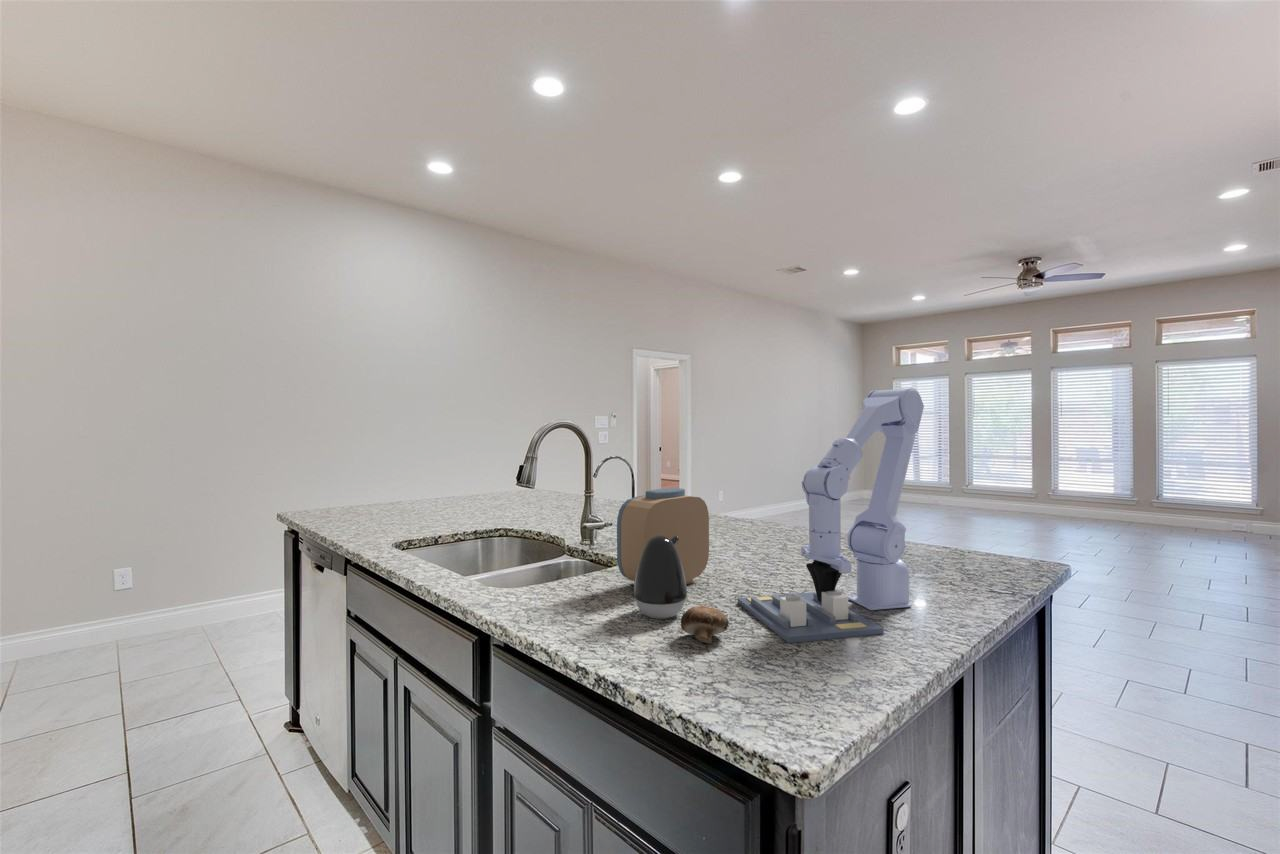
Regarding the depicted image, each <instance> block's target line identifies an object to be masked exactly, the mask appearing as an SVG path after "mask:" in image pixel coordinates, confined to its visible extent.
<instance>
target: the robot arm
mask: <svg viewBox="0 0 1280 854" xmlns="http://www.w3.org/2000/svg"><path fill="white" fill-rule="evenodd" d="M924 408H925V405H924V403H923V400H922V396H921V394H920V393H919V391H918V390H917V389H916V388H914V387H907V388H900V389H899V388H897V389H883V390H879V389H873V390H871V391H869V392H868V394H866V396H865V398H864V399H863V400H862V412H861V413H860V414H859V416H858V418H857V420H855V422H854V424H853V426H852V427H851V429H850V431H849V433H848V434H847V436H846V437H841V438H838V439H835V440H834V441H833V443H832V446H831V447H830V449H829V450H828V452H826V454H825V455H824V457H823V458H822V459H821V460H820V461H819V463H818V464H817V466H814V467H811V468H809V470H807V471H806V473H805V474H804V476H803V480H802V481H801V486H802V491H803V492H804V494H805V496H806V497H805V498H806V501H805V502H806V503H807V505H808V545H801V546H800V547H801V548H800V552H801V553H800V555H801V556H802V557H803V558H804V559H807V560H812V562H808V563H806V568H807V569H806V570H807V571H808V572H809V574H810V576H811V579H812V581H813V586H814V589H815V592H816V594H817V598H818V601H819V602H821V603H822V592H828V591H836V587H837V584H838V582H839V580H840V578H841V576H842V575H844V574H852V562H851V561H849V560H848V559H847V558H846V557H845V556H844V555H843V554H842V553H841V552H842V551H841V548H842V546H841V542H842V541H841V538H842V537H841V532H842V531H841V527H842V526H841V522H842V521H841V519H842V518H841V498H842V497H844V495H846V494H847V491H848V488H849V481H850V479H851V474H852V472H853V471H854V470H855V468H856V467H857V465H858V464H859V463H860V462H861V460H862V458H863V456H864V452H863V447H864V445H866V443H867V442H868V441H869V440H870V439H871V438H872V436H873V435H874V434H875V433H876V432H877V431H879V432H880V433H882V434H884V437H885V440H884V441H885V442H884V445H883V450H882V453H881V457H880V462H879V466H878V469H877V473H876V477H875V480H874V484H873V489H872V492H871V497H870V500H869V504H868V508H867V509H866V510H864V511H863V512H861V513H859V514H858V515H856V516H855V520H854V522H853V525H852V526H851V528H850V529H849V531H848V534H847V545H848V548H849V550H850V551H851V552H852V553H853V558H855V559H856V595H848V596H847V597H848V600H850V601H852V602H854V603H855V604H857V605H860V606H861V607H862V608H865V609H867V610H869V611H878V610H890V609H900V608H901V609H902V608H911V607H912V603H910V573H909V569H908V567H907V564H906V563H905V562H904V561H903V560H902V559H901V558H902V556H903V555H904V553H905V549H906V542H905V536H906V530H907V528H906V526H905V525H904V524H903V522H902V521H901V520H900V519H899V518H898V516H897V513H898V508H899V506H900V505H899V504H900V502H901V501H900V499H901V495H902V492H903V488H904V485H905V480H906V477H907V472H908V468H909V464H910V461H911V460H910V459H911V456H912V452H913V447H914V445H915V438H916V434H917V433H918V431H919V428H920V424H921V421H922V416H923V412H924Z"/></svg>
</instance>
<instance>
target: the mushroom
mask: <svg viewBox="0 0 1280 854" xmlns="http://www.w3.org/2000/svg"><path fill="white" fill-rule="evenodd" d="M729 623H730V622H729V618H728V617H727V615H726V614H725V613H723V612H722V611H720V610H718V609H716V608H714V607H709V606H706V605H697V606H692V607H691V608H689V609H687V610H686V611H685V612H684V613H683V614H682V616H681V620H680V627H681V629H682V631H684V632H685V633H687V634H688V635H689V634H691V635H694V637H695V638H696V639H697V640H698V641H700V642H703V643H705V644H709V645H711V644H713V641H712V640H713V639H712V638H713V636H714V635H718V634H721V633H724V632H725V631H727V629H728V627H729Z"/></svg>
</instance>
